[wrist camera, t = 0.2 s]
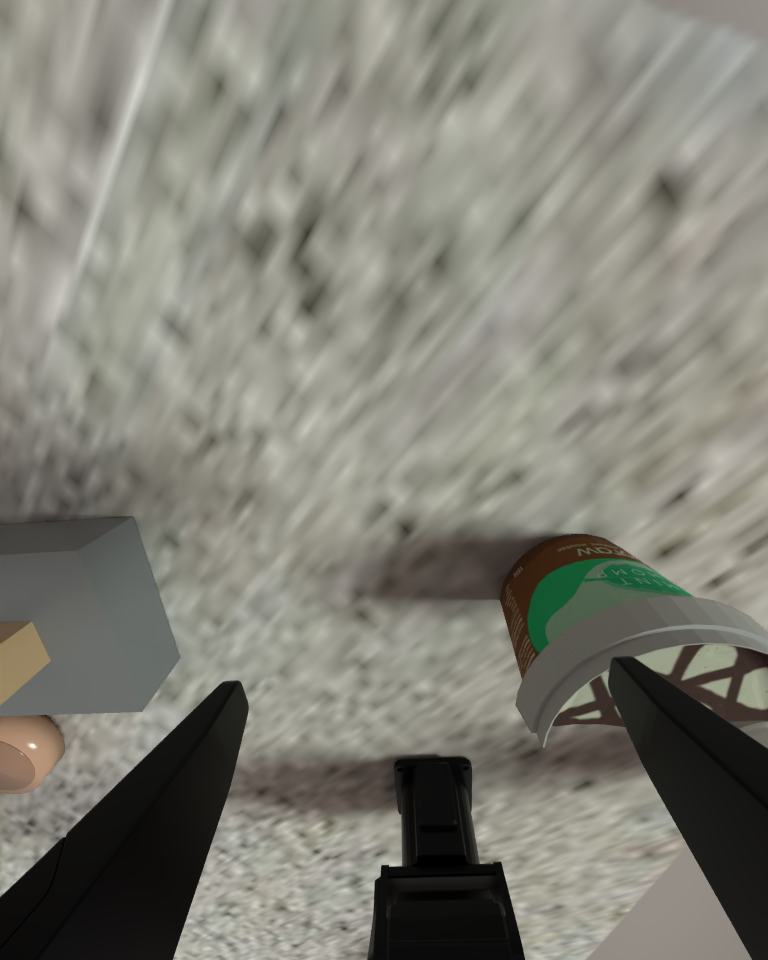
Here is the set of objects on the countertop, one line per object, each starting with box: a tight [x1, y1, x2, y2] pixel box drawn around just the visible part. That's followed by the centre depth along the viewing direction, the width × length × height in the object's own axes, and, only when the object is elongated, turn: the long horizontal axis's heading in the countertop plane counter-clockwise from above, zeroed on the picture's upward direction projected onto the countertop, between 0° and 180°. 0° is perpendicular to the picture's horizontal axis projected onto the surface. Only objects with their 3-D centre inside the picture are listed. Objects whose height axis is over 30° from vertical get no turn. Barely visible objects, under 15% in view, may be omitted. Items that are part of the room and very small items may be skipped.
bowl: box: [0, 715, 65, 794], centre depth 29 cm, size 7×7×3 cm
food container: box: [500, 534, 768, 747], centre depth 19 cm, size 12×6×10 cm, turn 93°
